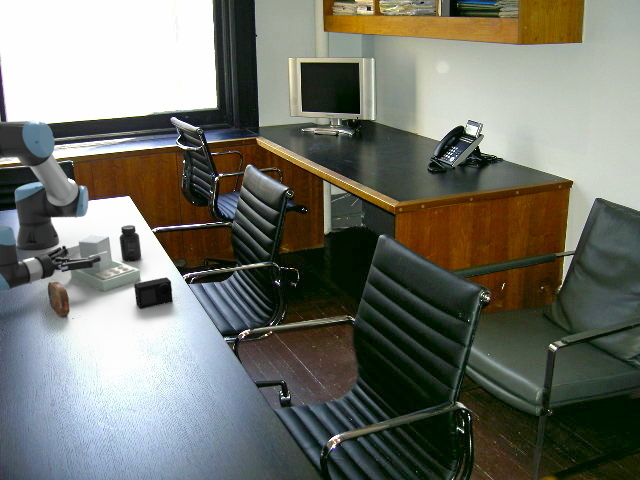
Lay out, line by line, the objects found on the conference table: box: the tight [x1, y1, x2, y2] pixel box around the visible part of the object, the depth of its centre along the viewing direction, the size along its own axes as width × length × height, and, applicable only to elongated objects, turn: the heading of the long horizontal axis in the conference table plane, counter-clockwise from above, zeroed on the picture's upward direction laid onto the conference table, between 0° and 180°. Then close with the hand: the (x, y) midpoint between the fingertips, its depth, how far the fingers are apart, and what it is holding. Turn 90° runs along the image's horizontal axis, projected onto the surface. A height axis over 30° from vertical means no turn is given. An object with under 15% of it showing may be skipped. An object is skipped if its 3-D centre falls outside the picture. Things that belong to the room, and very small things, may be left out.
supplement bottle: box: [119, 224, 142, 263], centre depth 280 cm, size 7×7×12 cm
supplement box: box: [78, 234, 113, 277], centre depth 264 cm, size 7×7×13 cm
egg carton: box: [95, 265, 134, 281], centre depth 259 cm, size 6×11×4 cm, turn 137°
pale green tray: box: [70, 258, 142, 293], centre depth 263 cm, size 20×14×4 cm
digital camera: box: [133, 277, 174, 310], centre depth 241 cm, size 10×5×7 cm, turn 119°
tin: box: [47, 281, 70, 317], centre depth 237 cm, size 15×3×8 cm, turn 33°
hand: (96, 251), depth 264 cm, fingers open, 13 cm apart
